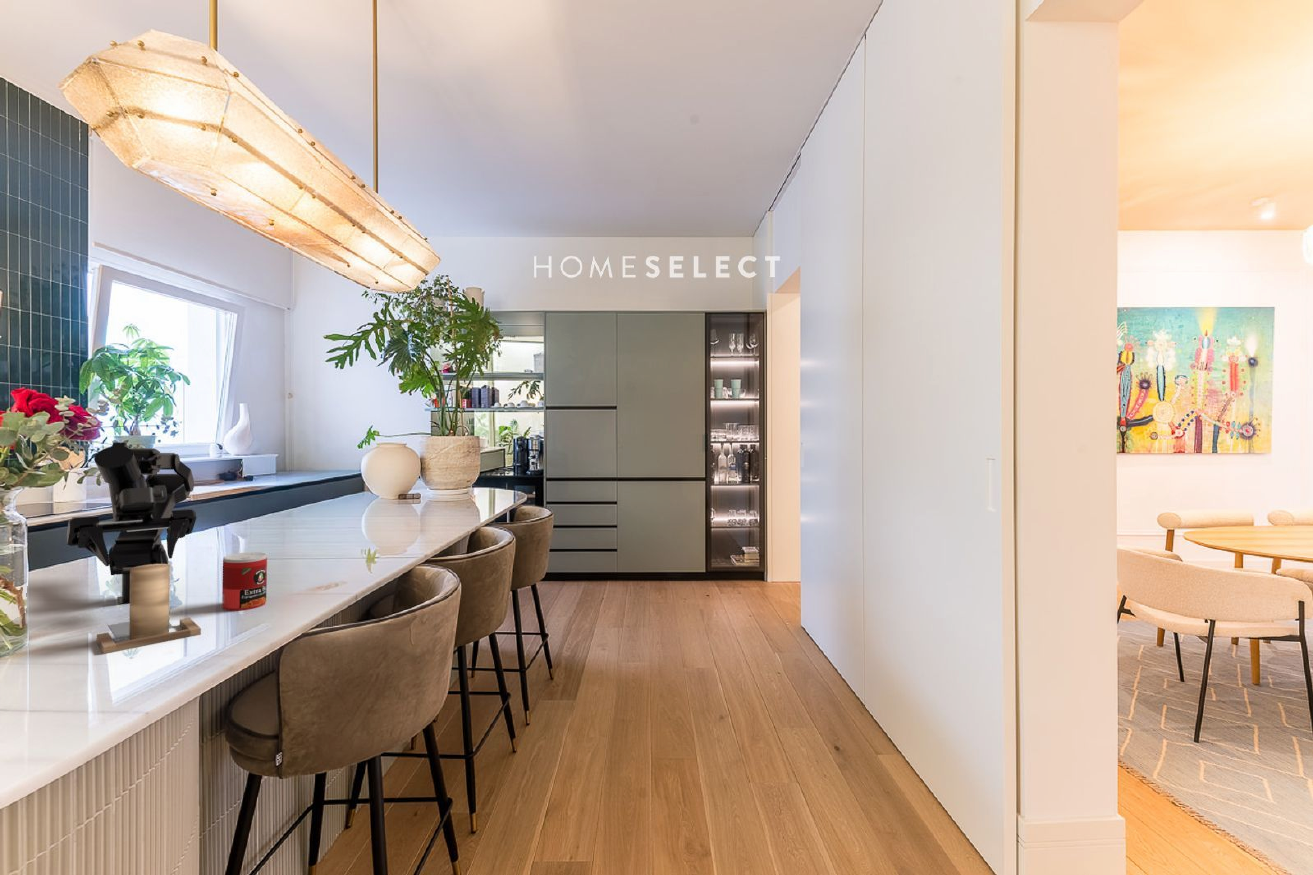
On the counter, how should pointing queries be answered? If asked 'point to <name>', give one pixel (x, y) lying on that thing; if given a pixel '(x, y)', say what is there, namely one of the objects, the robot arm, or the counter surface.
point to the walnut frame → (148, 638)
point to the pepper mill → (149, 600)
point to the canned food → (244, 581)
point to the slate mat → (123, 629)
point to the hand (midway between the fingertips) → (140, 561)
